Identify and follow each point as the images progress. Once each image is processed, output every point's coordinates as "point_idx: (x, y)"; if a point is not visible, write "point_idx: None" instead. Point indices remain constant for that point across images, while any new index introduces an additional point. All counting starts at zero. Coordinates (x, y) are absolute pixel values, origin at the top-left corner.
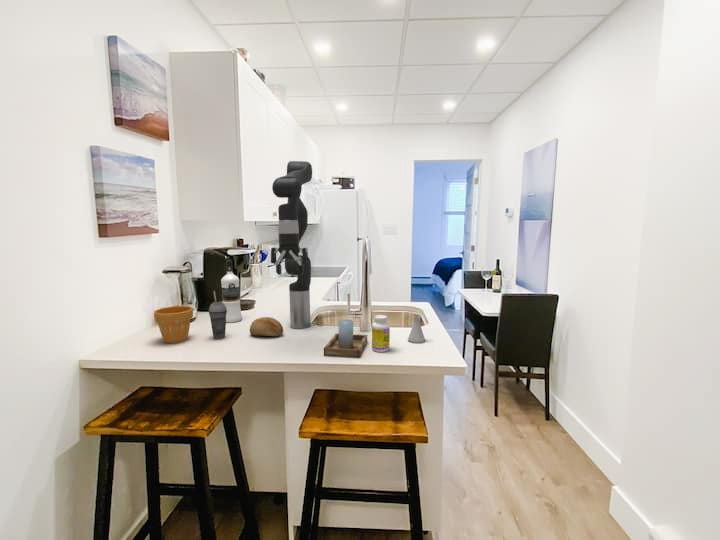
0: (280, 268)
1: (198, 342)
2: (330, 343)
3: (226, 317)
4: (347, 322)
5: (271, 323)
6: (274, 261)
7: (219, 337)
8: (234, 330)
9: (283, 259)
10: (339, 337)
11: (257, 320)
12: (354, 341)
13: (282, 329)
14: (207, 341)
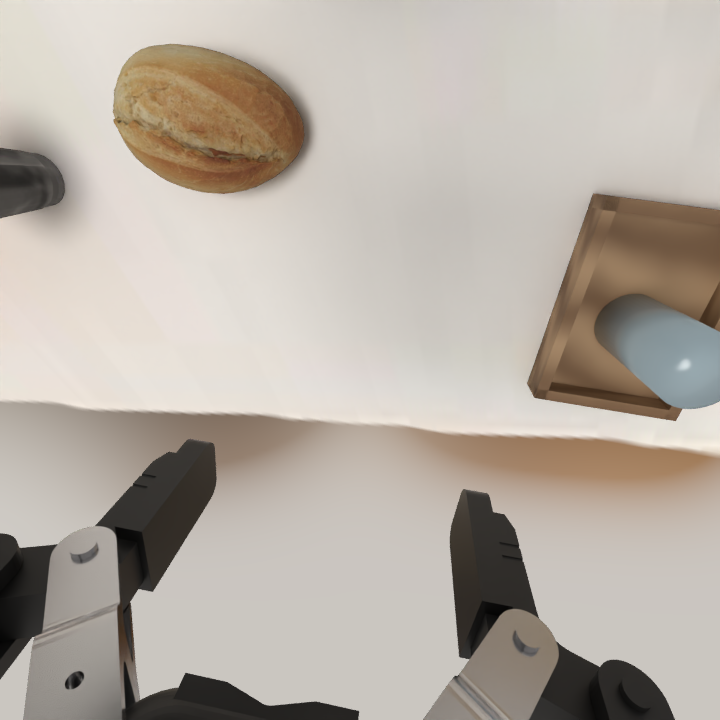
0: (176, 514)
1: (12, 247)
2: (565, 343)
3: None
4: (704, 392)
5: (240, 172)
6: (30, 625)
7: (52, 203)
8: (20, 40)
9: (121, 626)
10: (618, 359)
11: (151, 158)
12: (688, 243)
13: (299, 132)
14: (34, 233)
